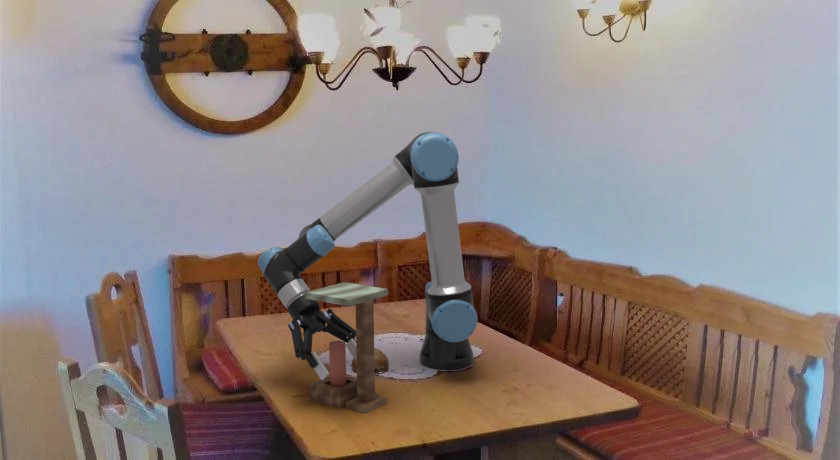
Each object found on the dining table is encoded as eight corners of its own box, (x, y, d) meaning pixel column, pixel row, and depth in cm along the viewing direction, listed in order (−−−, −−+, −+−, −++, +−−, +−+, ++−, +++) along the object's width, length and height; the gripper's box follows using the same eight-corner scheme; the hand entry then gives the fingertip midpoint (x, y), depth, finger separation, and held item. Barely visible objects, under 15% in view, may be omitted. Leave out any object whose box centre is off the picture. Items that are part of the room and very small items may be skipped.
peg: (348, 395, 199) (347, 341, 197) (343, 401, 195) (342, 345, 193) (333, 394, 200) (331, 340, 198) (328, 400, 196) (326, 344, 194)
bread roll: (354, 387, 216) (356, 365, 212) (347, 361, 224) (349, 339, 220) (390, 383, 219) (392, 361, 214) (382, 358, 227) (384, 336, 223)
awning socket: (303, 402, 195) (300, 291, 191) (342, 386, 206) (340, 281, 202) (356, 417, 185) (354, 300, 181) (394, 399, 196) (392, 289, 192)
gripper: (326, 300, 214) (370, 365, 207) (254, 320, 194) (300, 392, 187) (340, 283, 210) (385, 348, 203) (269, 301, 190) (316, 374, 183)
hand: (345, 369), depth 195 cm, fingers open, 13 cm apart
